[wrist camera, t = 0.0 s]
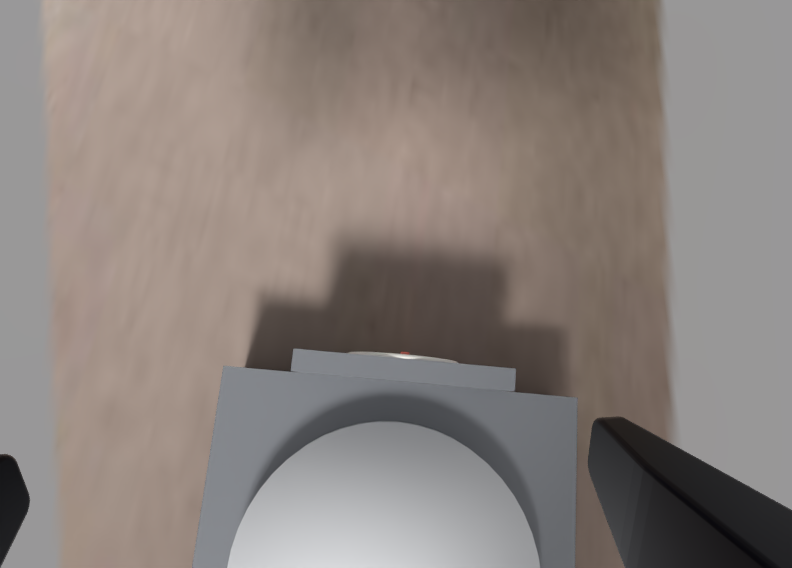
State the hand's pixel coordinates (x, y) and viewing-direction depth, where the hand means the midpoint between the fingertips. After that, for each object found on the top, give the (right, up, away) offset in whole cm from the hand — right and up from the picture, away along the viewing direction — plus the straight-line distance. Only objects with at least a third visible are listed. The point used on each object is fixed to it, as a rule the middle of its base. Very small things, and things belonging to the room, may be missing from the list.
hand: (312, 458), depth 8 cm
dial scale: (+1, -9, +13) cm, 16 cm away
